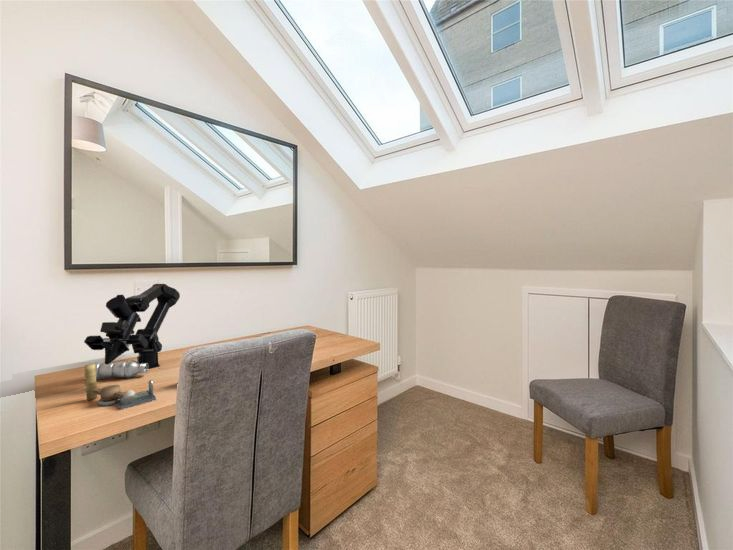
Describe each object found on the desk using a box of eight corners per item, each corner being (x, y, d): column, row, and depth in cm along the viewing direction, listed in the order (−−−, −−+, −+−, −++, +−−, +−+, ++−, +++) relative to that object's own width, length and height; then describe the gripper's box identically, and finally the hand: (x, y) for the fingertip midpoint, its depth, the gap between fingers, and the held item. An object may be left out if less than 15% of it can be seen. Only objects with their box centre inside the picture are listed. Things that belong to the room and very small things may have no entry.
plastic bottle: (94, 372, 130) (151, 368, 134) (84, 384, 124) (144, 380, 128) (89, 358, 128) (148, 355, 131) (79, 371, 122) (140, 367, 125)
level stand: (146, 389, 116) (146, 375, 116) (157, 399, 108) (157, 384, 108) (96, 402, 106) (95, 386, 106) (103, 414, 98) (103, 397, 98)
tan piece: (140, 400, 107) (139, 367, 106) (125, 407, 102) (123, 372, 101) (96, 394, 111) (95, 362, 111) (80, 400, 107) (78, 367, 106)
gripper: (86, 313, 119) (62, 352, 109) (142, 312, 121) (124, 350, 110) (103, 330, 128) (82, 369, 117) (155, 329, 129) (139, 367, 119)
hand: (106, 363), depth 116 cm, fingers closed
